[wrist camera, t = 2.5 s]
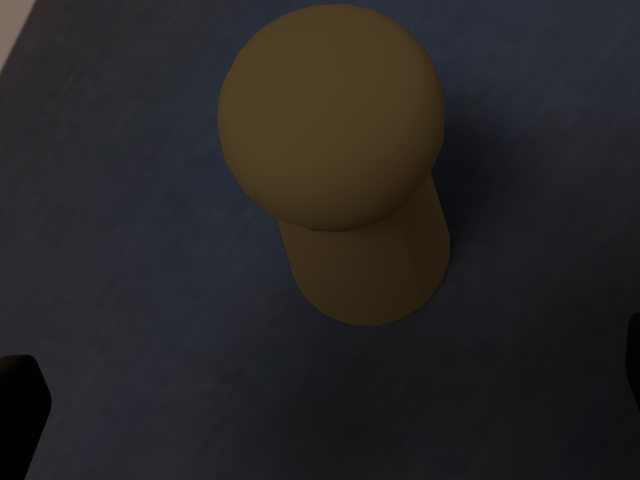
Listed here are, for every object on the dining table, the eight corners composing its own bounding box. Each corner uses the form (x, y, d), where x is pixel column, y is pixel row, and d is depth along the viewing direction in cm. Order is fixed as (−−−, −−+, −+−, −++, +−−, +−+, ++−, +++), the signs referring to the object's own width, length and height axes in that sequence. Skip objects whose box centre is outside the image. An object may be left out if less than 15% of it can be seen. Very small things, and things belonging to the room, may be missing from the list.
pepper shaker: (266, 211, 24) (143, 29, 14) (407, 147, 24) (391, -84, 14) (324, 353, 22) (231, 264, 11) (480, 284, 22) (527, 131, 11)
